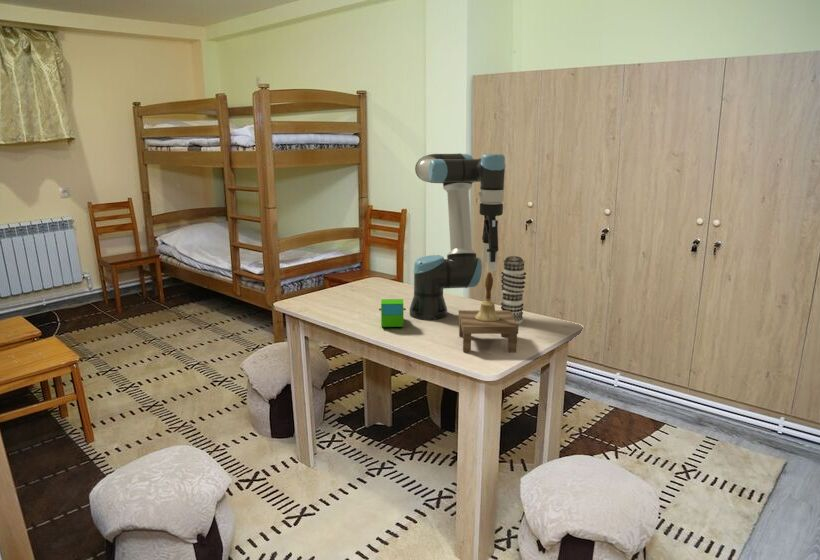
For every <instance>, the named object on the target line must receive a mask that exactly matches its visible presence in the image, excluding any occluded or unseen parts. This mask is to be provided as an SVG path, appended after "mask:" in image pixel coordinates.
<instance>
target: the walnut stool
mask: <svg viewBox="0 0 820 560" xmlns="http://www.w3.org/2000/svg"><path fill="white" fill-rule="evenodd" d="M479 311H480V309H479V310H476V309H475V310H472V309H471V310H470V309H469V310H461V309H460V310H458V321H459V322H458V325H459V326H458V327H459V328H458V336H459V337H460V338H462V352H463V353H471V352H472V334H477V335H481V334H482V335H484V334H485V335H487V334H488V335H491V334H492V335H493V334H494V335H495V334H496V335H497V334H498V335H500V336H501V337H502V338H507V339H508V340H507V351H508V353H517V346H518V345H517V342H518V340H517V339H518V334H519V324H517V323H516V321H515V320H514V318H513V316H512V314H511V313H510V311H505V310H502V309H500V310H498V309H497V310H496V309H495V312H496V314H497V315H498V316H499V320H498V321H494V322H484V321H480V320H477V319H476V318H475V316H476V315H477V314H478V312H479Z"/></svg>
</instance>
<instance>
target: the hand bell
mask: <svg viewBox="0 0 820 560" xmlns="http://www.w3.org/2000/svg"><path fill="white" fill-rule="evenodd" d="M493 283H494V277H493V275H492V272H487V274H486V277H485V281H484V286H485V291H486V292H485V300H484V301H482V302H481V303H480V309H479V310H480V311H479V312H478V314H477V315H476V316H475V318H476V319H477V320H480V321H484V322H494V321H498V320H499V316H498V315H497V314H496V312H495V310H496V308H495V306H496V305H495V302H493V301H491V300H492V289H493V286H494V284H493Z"/></svg>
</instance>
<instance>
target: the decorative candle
mask: <svg viewBox="0 0 820 560" xmlns="http://www.w3.org/2000/svg"><path fill="white" fill-rule="evenodd" d="M502 262H503V263H504V264H503V270H502V271H501V274H502V275H501V283H502V284H501V292H502V297H501V302H500V305H501V306H500V310H505V311H510V313H511V314H512V316H513V318H514V320H515V321H516V323H517V325H519V324H522V323H523V318H524V317H523V315H524V312H523V311H524V307H523V306H524V303H523V302H524V299H523V298H524V296H523V295H524V292H525V291H524V289H525V284H526V282H525V281H524V280H525V279H526V275H527V273H526V272H525V262H526V261H525V260H523V258H522V257H521V256H515V255H509V256H507V257H506V258H505V259H504V260H503V261H502Z"/></svg>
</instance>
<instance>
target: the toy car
mask: <svg viewBox="0 0 820 560" xmlns="http://www.w3.org/2000/svg"><path fill="white" fill-rule="evenodd" d="M380 307H381V308H379V309H378V311H380V313H381V314H380V316H381V317H380V319H381V325H380V326H381V328H382V329H385V328H386V327H387V328H390V327H391V328H392V327H393V328H394V327H397V328H398V327H399V328H400V327H401V329H402V328H404V311H406V310H407V308H405V307H404V298H396V299H395V298H387V299H386V298H385V299H384V298H383V299H382V298H381V304H380Z"/></svg>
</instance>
